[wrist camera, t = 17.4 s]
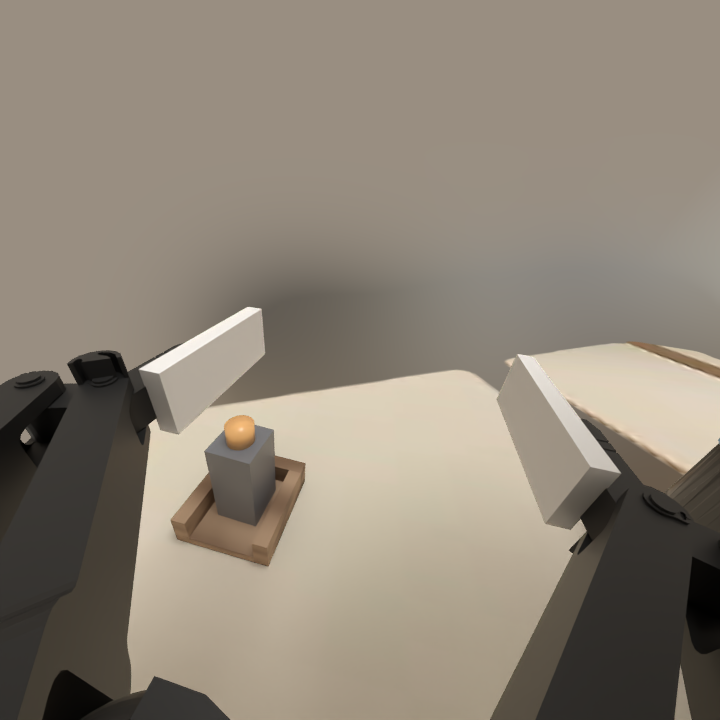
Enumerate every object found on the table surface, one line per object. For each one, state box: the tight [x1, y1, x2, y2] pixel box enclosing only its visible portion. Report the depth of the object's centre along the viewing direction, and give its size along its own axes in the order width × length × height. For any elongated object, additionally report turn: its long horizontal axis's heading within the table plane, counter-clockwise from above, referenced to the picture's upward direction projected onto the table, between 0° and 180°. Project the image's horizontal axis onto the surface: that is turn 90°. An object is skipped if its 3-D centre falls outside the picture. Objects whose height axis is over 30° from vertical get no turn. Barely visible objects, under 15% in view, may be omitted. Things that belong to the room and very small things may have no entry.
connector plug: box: [204, 415, 276, 526], centre depth 29 cm, size 4×4×12 cm
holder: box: [171, 456, 305, 566], centre depth 31 cm, size 10×10×4 cm
